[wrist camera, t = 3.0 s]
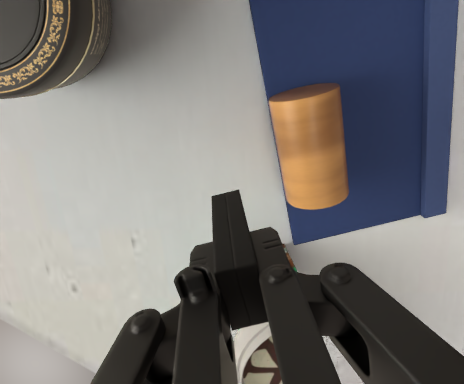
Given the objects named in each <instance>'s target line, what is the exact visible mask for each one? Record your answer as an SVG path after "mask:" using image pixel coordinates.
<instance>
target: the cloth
mask: <svg viewBox="0 0 464 384" xmlns="http://www.w3.org/2000/svg"><path fill="white" fill-rule="evenodd" d="M249 3H250V8H251V14H252V19H253V25H254V30H255V35H256V41H257V46H258V52H259V57H260V63H261V68H262V74H263V79H264V85H265V90H266V96H267V101H268V106H269V98H270V97H272V96H274V95H276V94H278V93H281V92H284V91H287V90H290V89H294V88H298V87H303V86H308V85H314V84H321V83H337V84H339V85H340V93H341V105H342V116H343V128H344V140H345V151H346V163H347V174H348V186H349V194H348V196H347V198H346V199H345V200H343V201H342V202H341V203H339V204H337V205H334V206H331V207H328V208H323V209H314V210H309V209H300V208H296V207H294V206H292V205H290V204H289V203H288V202H287V199H286V194H285V189H284V194H285V199H286V205H287V210H288V216H289V221H290V227H291V232H292V238H293V243H294V245H297V244H301V243H306V242H310V241H314V240H318V239H322V238H326V237H330V236H335V235H339V234H343V233H347V232H351V231H355V230H359V229H364V228H368V227H372V226H376V225H380V224H384V223H388V222H393V221H397V220H401V219H405V218H409V217H413V216H417V215H421V216H423V217H424V218H428V217H432V216H436V215H440V214H445V213H446V206H447V189H448V172H449V155H450V138H451V121H452V104H453V88H454V71H455V54H456V37H457V20H458V3H459V0H249ZM269 112H270V106H269ZM270 117H271V112H270ZM271 123H272V117H271ZM272 128H273V123H272ZM273 134H274V128H273ZM274 139H275V134H274ZM275 145H276V139H275ZM276 150H277V145H276ZM277 156H278V150H277ZM278 161H279V156H278ZM279 167H280V161H279ZM280 172H281V167H280ZM281 177H282V172H281ZM282 183H283V178H282ZM283 188H284V183H283Z"/></svg>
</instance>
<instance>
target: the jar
mask: <svg viewBox="0 0 464 384" xmlns="http://www.w3.org/2000/svg"><path fill="white" fill-rule="evenodd" d="M111 25H112V15H111V5H110V0H0V99H7V98H17V97H26V96H33V95H37V94H40V93H44V92H47V91H49V90H51V89H55V88H60V87H63V86H67V85H70V84H72V83H74V82H76V81H78V80H80V79H82V78H83V77H85V76H86V75H87V74H88V73H90V72H91V71H92V70H93V69H94V68H95V66H96V65H97V64H98V62H99V61H100V60H101V58H102V56H103V54H104V52H105V50H106V48H107V45H108V42H109V38H110V33H111Z"/></svg>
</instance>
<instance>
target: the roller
mask: <svg viewBox="0 0 464 384" xmlns="http://www.w3.org/2000/svg"><path fill="white" fill-rule="evenodd" d="M269 106H270V112H271V117H272V123H273V128H274V134H275V139H276V145H277V150H278V156H279V161H280V167H281V172H282V178H283V183H284V189H285V194H286V199H287V202H288V203H289V204H290V205H292V206H294V207H296V208H300V209H309V210H314V209H323V208H328V207H331V206H334V205H337V204H339V203H341V202H342V201H343V200H345V199H346V198H347V196H348V194H349V186H348V174H347V163H346V151H345V140H344V128H343V116H342V105H341V93H340V85H339V84H337V83H321V84H314V85H308V86H303V87H298V88H294V89H290V90H287V91H284V92H281V93H278V94H276V95H274V96H272V97H270V98H269Z"/></svg>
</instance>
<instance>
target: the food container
mask: <svg viewBox="0 0 464 384" xmlns="http://www.w3.org/2000/svg"><path fill="white" fill-rule="evenodd" d="M282 245H283V248H284V250H285V253H286V255H287V258H288V260H289V263H290V265H291V267H292V268H293V269H294V270H295V271H297V270H296V268H295V266H294V264H293V261H292V259H291V257H290V255H289V253H288V251H287V249H286V247H285V245H284V244H282ZM234 349H235V359H236V370H237V380H238V384H282V379H281V375H280V371H279V366H278V362H277V357H276V353H275V349H274V344H273V340H272V335H271V331H270V327H269V322H266V323H262V324H257V325H253V326H249V327H245V328H240V329H238V333H237V334H236V336H235V339H234Z"/></svg>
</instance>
